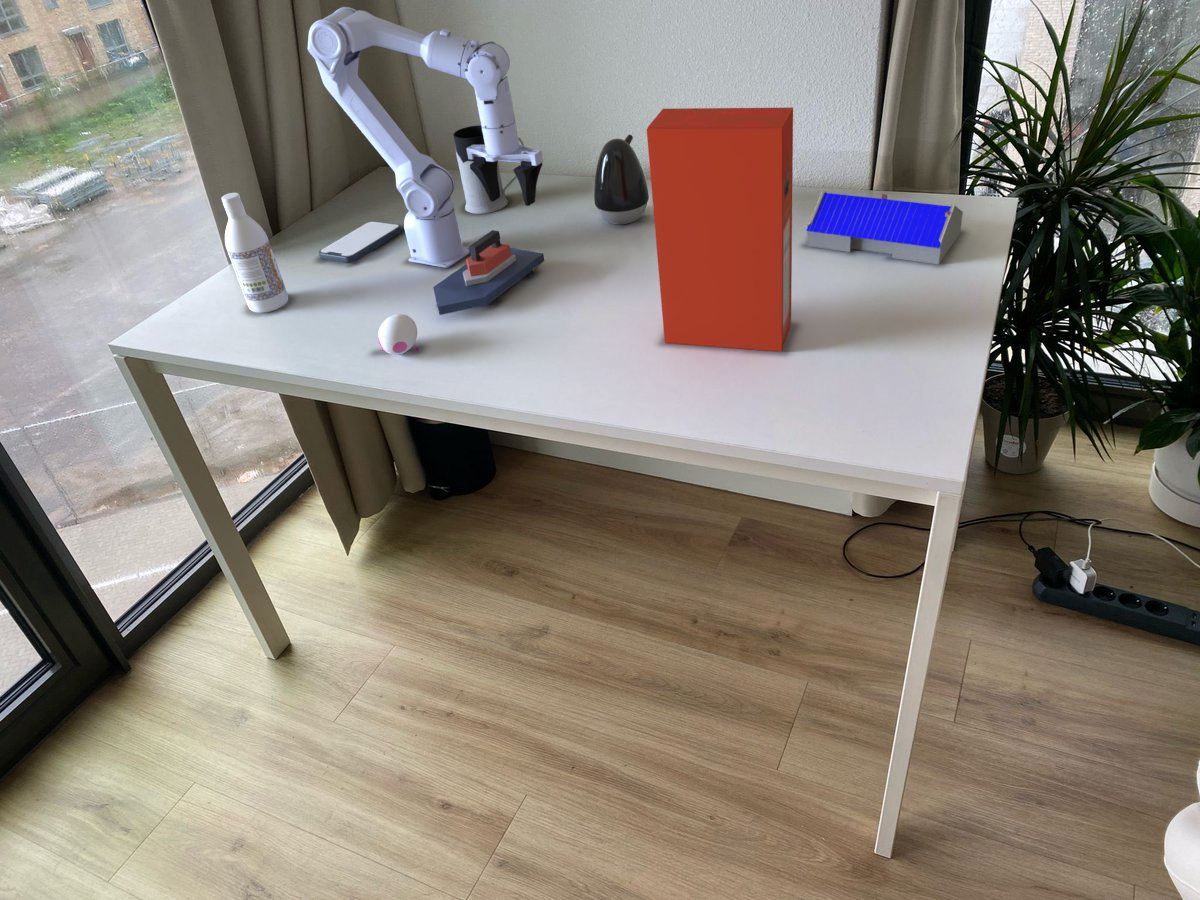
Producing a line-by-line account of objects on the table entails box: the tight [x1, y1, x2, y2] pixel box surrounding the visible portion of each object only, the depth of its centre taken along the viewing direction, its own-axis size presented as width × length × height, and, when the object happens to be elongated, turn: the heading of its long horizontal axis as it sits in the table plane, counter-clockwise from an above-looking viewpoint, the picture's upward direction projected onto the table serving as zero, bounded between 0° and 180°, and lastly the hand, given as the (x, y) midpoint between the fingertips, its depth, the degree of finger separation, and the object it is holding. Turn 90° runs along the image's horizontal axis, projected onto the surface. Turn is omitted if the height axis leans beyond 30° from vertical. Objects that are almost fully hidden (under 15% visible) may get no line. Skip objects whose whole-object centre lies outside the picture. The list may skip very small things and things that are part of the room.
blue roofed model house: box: [805, 190, 964, 265], centre depth 155 cm, size 22×14×7 cm, turn 58°
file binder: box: [646, 106, 794, 353], centre depth 128 cm, size 8×17×32 cm, turn 71°
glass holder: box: [452, 124, 525, 215], centre depth 185 cm, size 9×14×15 cm, turn 82°
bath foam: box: [221, 192, 289, 314], centre depth 158 cm, size 7×7×20 cm
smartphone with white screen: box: [318, 220, 403, 264], centre depth 180 cm, size 9×2×16 cm
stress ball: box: [377, 313, 420, 356], centre depth 144 cm, size 8×8×7 cm
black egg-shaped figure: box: [593, 134, 650, 225], centre depth 172 cm, size 10×10×15 cm
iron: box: [463, 229, 516, 286], centre depth 156 cm, size 11×5×6 cm, turn 148°
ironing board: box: [432, 247, 545, 316], centre depth 157 cm, size 11×22×3 cm, turn 149°
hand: (512, 201), depth 162 cm, fingers open, 7 cm apart
